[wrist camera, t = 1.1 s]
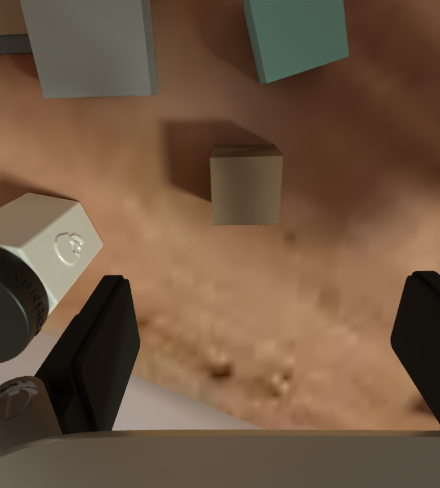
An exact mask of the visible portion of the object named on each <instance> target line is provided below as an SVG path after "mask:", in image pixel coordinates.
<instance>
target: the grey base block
mask: <svg viewBox="0 0 440 488" xmlns="http://www.w3.org/2000/svg"><path fill="white" fill-rule="evenodd" d="M20 3H21V7H22V11H23V15H24V19H25V23H26V27H27V32H28V36H29V40H30V44H31V48H32V52H33V56H34V60H35V64H36V68H37V72H38V76H39V80H40V84H41V88H42V92H43V96H44V98H74V97H107V96H139V95H156V94H159V85H158V75H157V66H156V56H155V46H154V36H153V26H152V16H151V6H150V0H20Z"/></svg>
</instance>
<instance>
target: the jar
mask: <svg viewBox="0 0 440 488" xmlns="http://www.w3.org/2000/svg"><path fill="white" fill-rule="evenodd" d="M102 247H103V243H102V241H101V239H100V237H99V236H98V234H97V232H96V230H95V229H94V227H93V225H92V223H91V221H90V220H89V218H88V216H87V214H86V213H85V211H84V209H83V207H82V205H81V204H80V202H78V201H72V200H67V199H61V198H56V197H51V196H45V195H40V194H34V193H26V194H24V195H22V196H20V197H19V198H17V199H15V200H13V201H11V202H9V203H7V204H5V205H3V206H2V207H0V363H3V362H6V361H9V360H10V359H13V358H15V357H16V356H18V355H19V354H20V353H21V352H22V351H23V350H24V349H25V348H26V347H27V345H28V344H29V343H30V342H31V340H32V339H33V338H34V336H36V335H37V334H38V333H39V332H40V330H41V327H42V326H43V325H44V323H45V321H46V320H47V317H48V316H49V314H50V313H51V312H52V311H53V309H54V308H55V307H56V306H57V304H58V303H59V302H60V300H61V299H62V298H63V297H64V295H65V294H66V293H67V291H68V290H69V289H70V288H71V286H72V285H73V284H74V282H75V281H76V280H77V279H78V277H79V276H80V275H81V274H82V272H83V271H84V270H85V268H86V267H87V266H88V265H89V263H90V262H91V261H92V259H93V258H94V257H95V256H96V254H97V253H98V252H99V250H100V249H101V248H102Z"/></svg>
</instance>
